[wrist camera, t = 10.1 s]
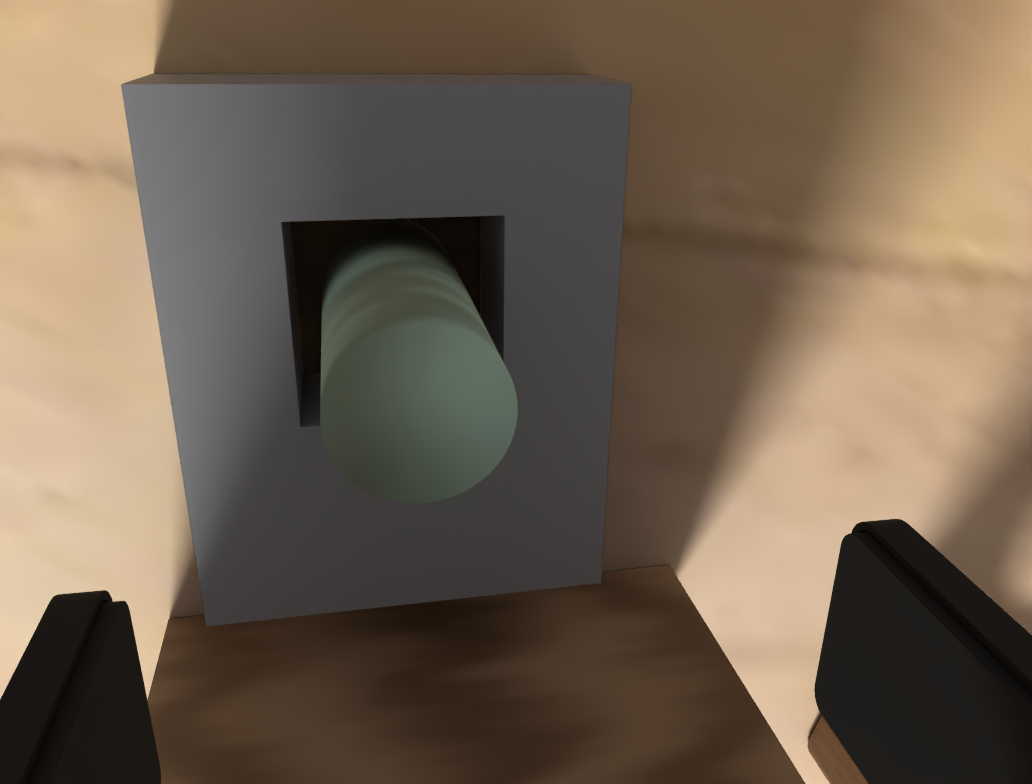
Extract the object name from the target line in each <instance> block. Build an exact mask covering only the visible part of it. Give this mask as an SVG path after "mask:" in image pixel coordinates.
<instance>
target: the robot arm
mask: <svg viewBox="0 0 1032 784" xmlns="http://www.w3.org/2000/svg"><path fill="white" fill-rule="evenodd" d="M815 698H816V703H817V706H818V709H819V711H820V713H821V715H822V716H823V718H824V719H825V721H826V722H827V724H828V725H829V727H830V728H831V729H832V731H833V732H834V734H835V735H836V737H837V738H838V740H839V741H840V743H841V744H842V746H843V747H844V749H845V750H846V752H847V753H848V754H849V756H850V757H851V759H852V760H853V762H854V763H855V765H856V766H857V768H858V769H859V771H860V772H861V774H862V775H863V777H864V778H865V779H866V781H867V782H868V784H1032V635H1031V634H1029V633H1028V632H1027V631H1026V630H1025V629H1024V628H1023V627H1022V626H1021V625H1020V624H1018V623H1017V622H1016V621H1015V620H1014V619H1013V618H1012V617H1011V616H1010V615H1008V614H1007V613H1006V612H1005V611H1004V610H1003V609H1002V608H1001V607H1000V606H998V605H997V604H996V603H995V602H994V601H993V600H992V599H991V598H990V597H988V596H987V595H986V594H985V593H984V592H983V591H982V590H981V589H980V588H979V587H977V586H976V585H975V584H974V583H973V582H972V581H971V580H970V579H969V578H967V577H966V576H965V575H964V574H963V573H962V572H961V571H960V570H959V569H957V568H956V567H955V566H954V565H953V564H952V563H951V562H950V561H949V560H948V559H946V558H945V557H944V556H943V555H942V554H941V553H940V552H939V551H938V550H936V549H935V548H934V547H933V546H932V545H931V544H930V543H929V542H928V541H926V540H925V539H924V538H923V537H922V536H921V535H920V534H919V533H918V532H917V531H915V530H914V529H913V528H912V527H911V526H910V525H909V524H908V523H906V522H905V521H903V520H900V519H890V520H879V521H868V522H860V523H858V524H856V526H855V527H854V528H853V530H852V533H851V534H848V535H846V536H845V537H844V538H843V540H842V543H841V548H840V553H839V559H838V564H837V570H836V575H835V580H834V586H833V591H832V596H831V602H830V607H829V612H828V618H827V623H826V628H825V634H824V639H823V644H822V650H821V655H820V660H819V666H818V671H817V676H816V682H815ZM0 784H161V769H160V762H159V757H158V752H157V747H156V742H155V737H154V732H153V727H152V722H151V717H150V712H149V707H148V702H147V697H146V692H145V687H144V681H143V676H142V671H141V666H140V661H139V656H138V651H137V646H136V641H135V636H134V631H133V626H132V621H131V616H130V611H129V607H128V605H127V603H126V602H125V601H117V602H113V601H112V598H111V596H110V594H109V592H107V591H105V590H104V591H93V592H82V593H71V594H60V595H56V596H54V597H53V598H52V600H51V601H50V603H49V605H48V607H47V608H46V610H45V612H44V614H43V616H42V618H41V620H40V622H39V624H38V626H37V628H36V630H35V632H34V634H33V636H32V638H31V640H30V642H29V644H28V646H27V648H26V650H25V652H24V654H23V656H22V658H21V660H20V662H19V664H18V666H17V668H16V670H15V672H14V674H13V676H12V678H11V680H10V681H9V683H8V685H7V687H6V689H5V691H4V693H3V695H2V697H1V699H0Z"/></svg>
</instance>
